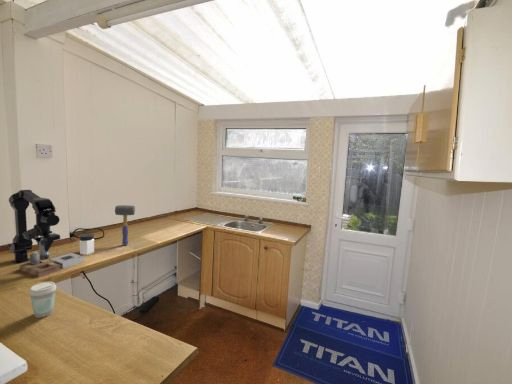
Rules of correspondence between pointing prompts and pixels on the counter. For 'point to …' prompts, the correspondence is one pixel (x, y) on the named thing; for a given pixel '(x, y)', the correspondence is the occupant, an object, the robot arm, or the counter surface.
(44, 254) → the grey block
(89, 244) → the jar
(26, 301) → the counter surface
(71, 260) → the socket
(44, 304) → the coffee cup
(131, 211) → the rubber mallet
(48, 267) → the rack
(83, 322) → the counter surface
